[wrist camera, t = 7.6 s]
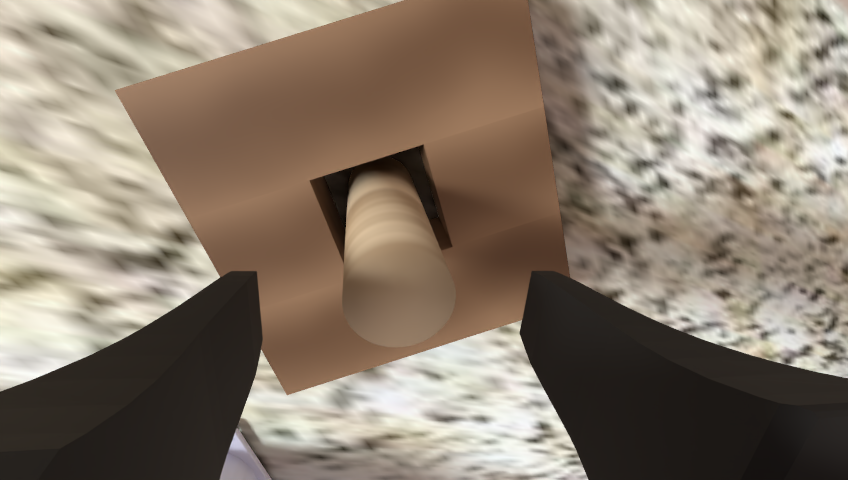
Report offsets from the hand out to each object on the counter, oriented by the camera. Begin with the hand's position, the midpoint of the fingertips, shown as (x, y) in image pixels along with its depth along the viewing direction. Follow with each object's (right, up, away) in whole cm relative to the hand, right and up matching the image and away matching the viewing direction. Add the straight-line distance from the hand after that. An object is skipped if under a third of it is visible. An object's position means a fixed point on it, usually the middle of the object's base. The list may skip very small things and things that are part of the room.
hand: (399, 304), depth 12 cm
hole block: (-1, +4, +9) cm, 10 cm away
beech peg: (-1, +4, +9) cm, 10 cm away
